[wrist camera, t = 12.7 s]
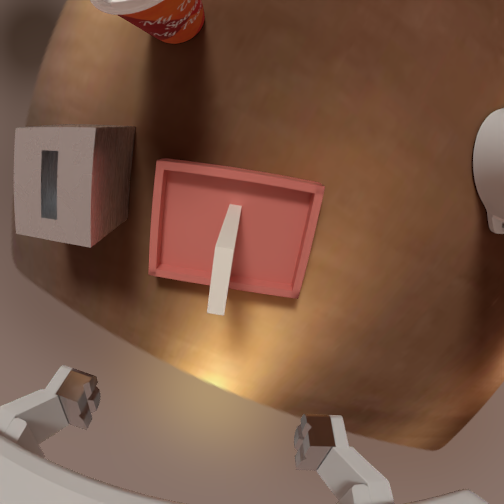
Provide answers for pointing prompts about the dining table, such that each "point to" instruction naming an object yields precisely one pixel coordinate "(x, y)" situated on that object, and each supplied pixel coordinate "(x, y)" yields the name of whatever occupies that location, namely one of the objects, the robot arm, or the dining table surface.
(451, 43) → the dining table surface
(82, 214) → the dispenser
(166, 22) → the paper cup
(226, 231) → the long rectangular block
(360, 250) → the dining table surface
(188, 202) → the tray
